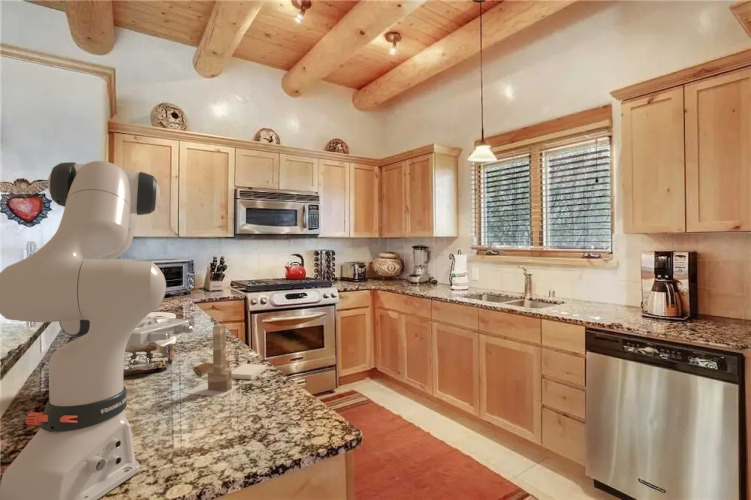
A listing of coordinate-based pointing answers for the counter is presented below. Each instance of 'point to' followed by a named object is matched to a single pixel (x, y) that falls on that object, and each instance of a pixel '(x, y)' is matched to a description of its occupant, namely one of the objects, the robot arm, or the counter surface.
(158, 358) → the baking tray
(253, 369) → the slab tile
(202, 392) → the rest mat
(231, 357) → the counter surface
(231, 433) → the counter surface
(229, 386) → the stacked wooden blocks
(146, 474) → the counter surface
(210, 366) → the shard
